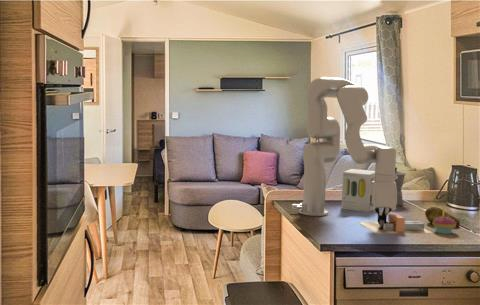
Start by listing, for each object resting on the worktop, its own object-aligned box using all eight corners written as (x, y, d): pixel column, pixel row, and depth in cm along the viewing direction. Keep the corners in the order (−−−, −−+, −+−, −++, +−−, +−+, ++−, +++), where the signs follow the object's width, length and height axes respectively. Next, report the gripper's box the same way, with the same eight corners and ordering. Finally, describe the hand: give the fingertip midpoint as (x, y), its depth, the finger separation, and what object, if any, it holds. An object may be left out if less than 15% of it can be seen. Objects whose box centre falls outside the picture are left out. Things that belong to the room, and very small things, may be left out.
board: (375, 236, 203) (375, 233, 203) (357, 225, 221) (357, 222, 220) (432, 235, 207) (432, 232, 206) (410, 224, 224) (410, 221, 224)
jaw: (387, 229, 209) (387, 222, 209) (385, 228, 211) (385, 221, 210) (421, 229, 211) (421, 222, 211) (419, 227, 213) (419, 220, 213)
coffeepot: (394, 200, 275) (396, 165, 273) (409, 203, 268) (412, 167, 266) (373, 203, 267) (375, 167, 265) (388, 206, 259) (390, 169, 257)
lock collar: (396, 231, 206) (397, 217, 205) (387, 227, 213) (388, 213, 212) (403, 231, 206) (404, 217, 206) (395, 226, 214) (395, 213, 213)
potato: (452, 232, 213) (453, 212, 212) (421, 226, 222) (422, 206, 221) (461, 229, 218) (462, 209, 217) (431, 223, 227) (432, 204, 227)
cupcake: (428, 232, 212) (430, 201, 211) (448, 232, 213) (451, 202, 212) (437, 237, 204) (440, 206, 202) (459, 238, 204) (461, 206, 203)
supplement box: (340, 208, 251) (342, 171, 250) (349, 204, 263) (351, 168, 261) (368, 212, 245) (370, 174, 243) (376, 207, 257) (378, 171, 255)
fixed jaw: (382, 231, 206) (383, 222, 206) (378, 228, 210) (379, 219, 210) (424, 230, 209) (424, 221, 209) (419, 228, 213) (419, 219, 213)
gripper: (398, 177, 215) (395, 222, 217) (362, 176, 213) (360, 222, 215) (407, 180, 208) (403, 226, 210) (369, 179, 206) (367, 227, 208)
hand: (381, 224), depth 212 cm, fingers closed
